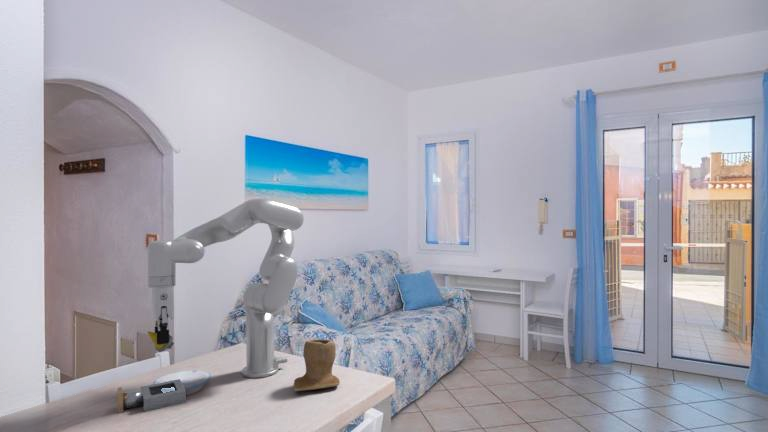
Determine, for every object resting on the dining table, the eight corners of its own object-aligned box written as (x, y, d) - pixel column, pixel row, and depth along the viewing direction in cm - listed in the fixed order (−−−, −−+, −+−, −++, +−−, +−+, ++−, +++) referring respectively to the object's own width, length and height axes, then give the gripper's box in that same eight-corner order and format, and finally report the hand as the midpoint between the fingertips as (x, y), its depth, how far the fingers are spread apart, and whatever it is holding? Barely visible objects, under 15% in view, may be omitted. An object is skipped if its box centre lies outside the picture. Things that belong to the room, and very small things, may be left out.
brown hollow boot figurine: (334, 376, 150) (334, 333, 150) (342, 390, 139) (342, 343, 139) (290, 382, 145) (289, 337, 145) (294, 396, 134) (293, 348, 134)
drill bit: (176, 352, 131) (151, 335, 126) (162, 359, 132) (137, 342, 127) (181, 338, 136) (157, 320, 130) (167, 344, 137) (143, 327, 131)
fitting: (180, 390, 140) (179, 372, 140) (185, 402, 130) (185, 383, 130) (117, 403, 130) (117, 384, 130) (118, 417, 121) (118, 397, 121)
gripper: (179, 284, 127) (179, 346, 127) (171, 277, 141) (171, 333, 141) (150, 286, 123) (150, 350, 123) (145, 278, 137) (145, 336, 137)
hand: (161, 340), depth 132 cm, fingers closed on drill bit, 5 cm apart
